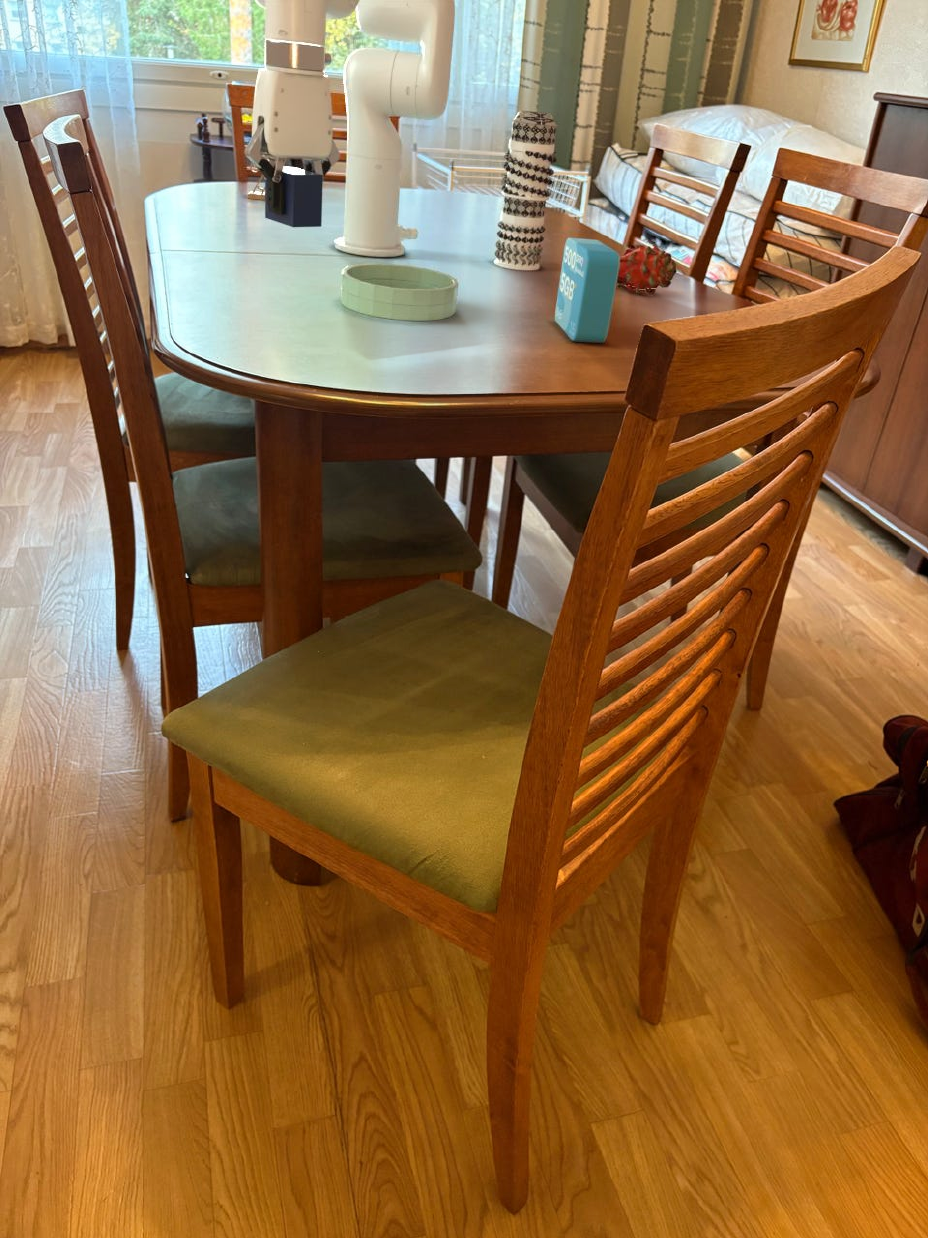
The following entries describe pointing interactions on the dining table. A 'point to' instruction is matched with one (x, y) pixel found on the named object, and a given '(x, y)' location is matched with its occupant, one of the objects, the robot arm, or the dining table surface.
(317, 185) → the navy blue block
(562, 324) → the data package
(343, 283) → the bowl
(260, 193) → the wire figure figurine
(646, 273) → the dragon fruit
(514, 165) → the decorative candle
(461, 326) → the dining table surface
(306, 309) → the dining table surface
